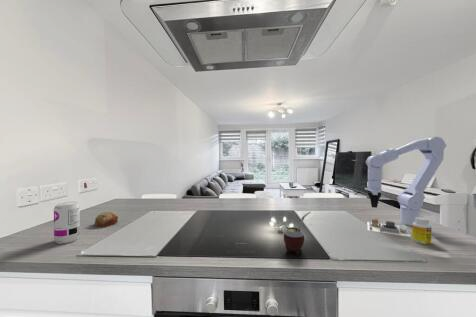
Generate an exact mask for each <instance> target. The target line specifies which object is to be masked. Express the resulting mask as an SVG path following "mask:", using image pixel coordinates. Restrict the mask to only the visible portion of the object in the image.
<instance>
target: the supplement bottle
mask: <svg viewBox="0 0 476 317" xmlns="http://www.w3.org/2000/svg"><path fill="white" fill-rule="evenodd" d="M411 228H412V229H411V240H412V241H413V242H415V243H418V244H420V245H421V244H422V245H431V244H432V225H431V224H430V219H428V218H426V217H421V216H419V217H416V218H415V222H413V223H412V226H411Z"/></svg>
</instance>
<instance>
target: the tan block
mask: <svg viewBox="0 0 476 317" xmlns="http://www.w3.org/2000/svg"><path fill="white" fill-rule="evenodd" d="M371 222H372V226H377V227H378V223H379V218H377V217H371Z"/></svg>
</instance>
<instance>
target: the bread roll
mask: <svg viewBox="0 0 476 317" xmlns="http://www.w3.org/2000/svg"><path fill="white" fill-rule="evenodd" d="M118 218H119V217H118V216H117V215H116V214H115V213H113V212H109V211H103V212H101V213H99V214H98V215H97V216H96V217H95V218H94V224H93V226H94V227H97V228H107V227H109V226H110V227H111V226H114V225H117V223H118V221H119V219H118Z"/></svg>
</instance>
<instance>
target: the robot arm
mask: <svg viewBox="0 0 476 317" xmlns="http://www.w3.org/2000/svg"><path fill="white" fill-rule="evenodd" d="M446 147H447V143H446V142H445V140H444V139H443V138H442V137H440V136H433V137H427V138H426V137H423V138H420V139H416V140H413V141H410V142H409V143H407V144H404V145H402V146H400V147H398V148H396V149H394V148H390V147H389V148H386V149H384V150H383V151H382V152H376V153H375V155H370V156H368V157H367V159H366V160H365V164H366V166H367V187H364V190H366V191H369V192H367V195H368V197H369V199H370V206H371V208H376V209H377V208H378V205H379V202H380V201H379V200H380V198H381V196H382V193H381V192H382V191H383V189H382V169H383V168H382V167H383V166H384V165H386V164H388V163H392V162H393V161H396V160H398V159H399V156H401V155H404V154H407V153H409V152H413V151H414V150H419V152H420V153H421V154H422V155H423V156H424V158H425V161H424V163H422V166H421V167H420V169H419V170H418V172H417V174H416V176H414V178H413V180H412V182H411V184H410V185H409V187H407V188H405V189H403V191H402V192H401V193H399V194H398V196H397V202H398V203H399V206H400V208H399V215H400V217H399V219H400V220H399V224H401V225H406V226H411V227H412V223H413V222H415V218H416V217H420V210H421V209H422V207H423V205H424V199H425V198H426V196H425V193H424V191H425V190H426V188H427V187H428V185H429V184H430V182H431V180H432V179H433V177H434V175H435V174H436V172H437V170H439V167H440V166H441V164H442V162H443V160H444V154H445V153H444V152H445V148H446Z"/></svg>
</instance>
